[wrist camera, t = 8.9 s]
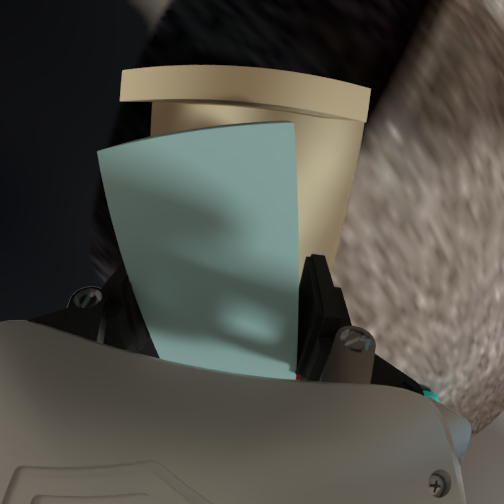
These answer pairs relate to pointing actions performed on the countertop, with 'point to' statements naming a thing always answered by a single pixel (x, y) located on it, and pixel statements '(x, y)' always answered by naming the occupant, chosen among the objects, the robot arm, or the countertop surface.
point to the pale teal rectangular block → (212, 243)
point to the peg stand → (271, 109)
